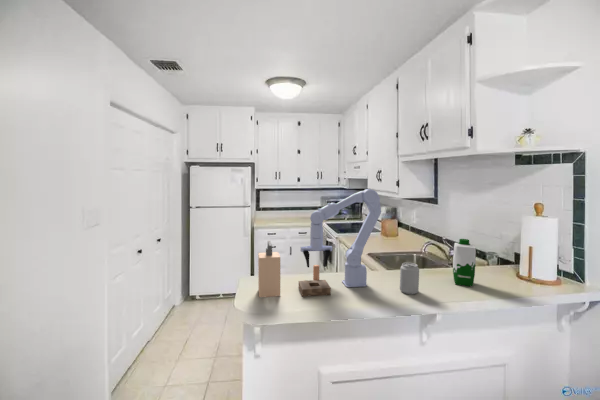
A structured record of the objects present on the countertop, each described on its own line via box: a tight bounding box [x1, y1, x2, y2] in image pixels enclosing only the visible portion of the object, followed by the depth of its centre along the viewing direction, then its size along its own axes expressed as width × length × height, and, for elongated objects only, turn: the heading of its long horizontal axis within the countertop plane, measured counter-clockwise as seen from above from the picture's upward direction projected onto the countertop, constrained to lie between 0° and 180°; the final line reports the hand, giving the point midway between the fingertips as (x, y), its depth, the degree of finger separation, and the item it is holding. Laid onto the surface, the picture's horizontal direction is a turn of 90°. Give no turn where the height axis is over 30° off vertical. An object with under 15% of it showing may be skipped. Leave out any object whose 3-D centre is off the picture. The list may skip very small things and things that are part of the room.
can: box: [399, 262, 420, 295], centre depth 127 cm, size 8×8×12 cm
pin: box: [312, 264, 320, 280], centre depth 137 cm, size 3×3×8 cm
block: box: [298, 279, 332, 298], centre depth 127 cm, size 12×10×3 cm
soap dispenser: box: [257, 240, 281, 298], centre depth 123 cm, size 13×9×22 cm
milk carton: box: [452, 238, 477, 287], centre depth 137 cm, size 9×9×20 cm
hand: (316, 266), depth 137 cm, fingers open, 7 cm apart
